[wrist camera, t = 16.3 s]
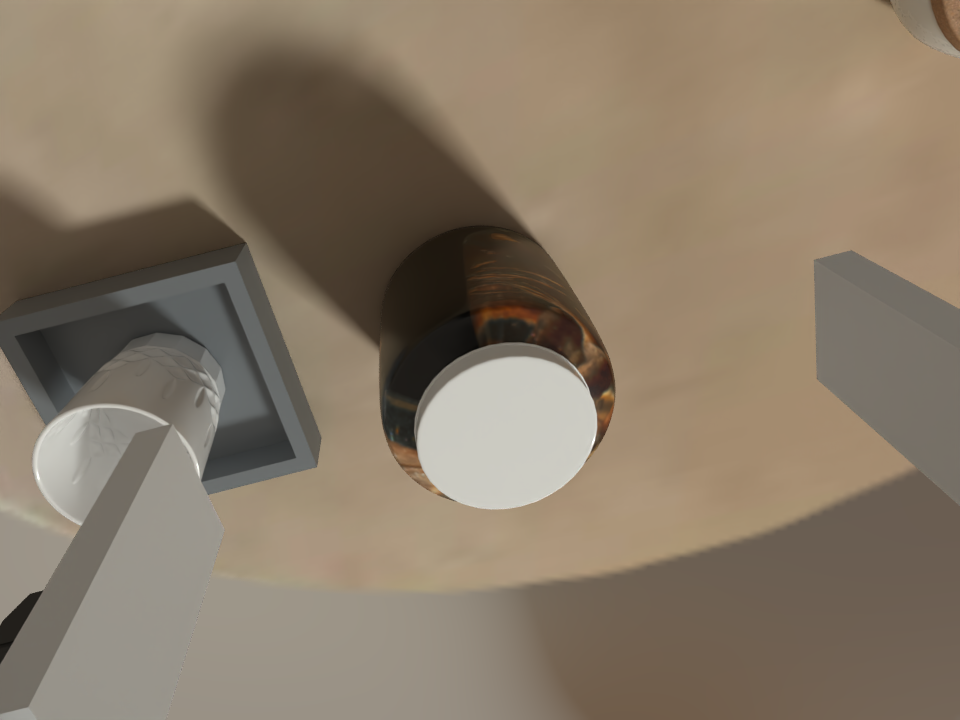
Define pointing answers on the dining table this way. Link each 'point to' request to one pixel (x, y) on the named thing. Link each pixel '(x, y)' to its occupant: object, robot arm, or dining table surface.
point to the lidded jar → (932, 22)
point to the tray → (199, 317)
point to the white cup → (128, 417)
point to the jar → (490, 370)
